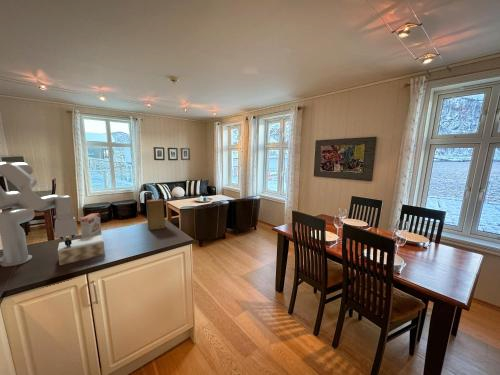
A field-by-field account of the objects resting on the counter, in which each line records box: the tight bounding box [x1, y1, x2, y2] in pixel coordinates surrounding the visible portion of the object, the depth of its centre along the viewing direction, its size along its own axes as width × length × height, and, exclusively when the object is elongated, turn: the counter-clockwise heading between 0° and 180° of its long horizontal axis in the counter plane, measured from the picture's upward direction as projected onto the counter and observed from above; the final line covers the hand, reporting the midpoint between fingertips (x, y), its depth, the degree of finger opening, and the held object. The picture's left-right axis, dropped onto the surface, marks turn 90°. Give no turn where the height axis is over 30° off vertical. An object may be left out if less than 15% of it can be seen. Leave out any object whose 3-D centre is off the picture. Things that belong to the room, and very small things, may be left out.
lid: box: [57, 234, 105, 253], centre depth 136 cm, size 22×14×1 cm, turn 129°
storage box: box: [57, 242, 106, 266], centre depth 137 cm, size 22×14×8 cm, turn 129°
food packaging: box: [146, 198, 166, 231], centre depth 188 cm, size 13×9×25 cm
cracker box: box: [79, 212, 102, 239], centre depth 154 cm, size 14×6×21 cm, turn 8°
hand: (68, 245), depth 130 cm, fingers closed
